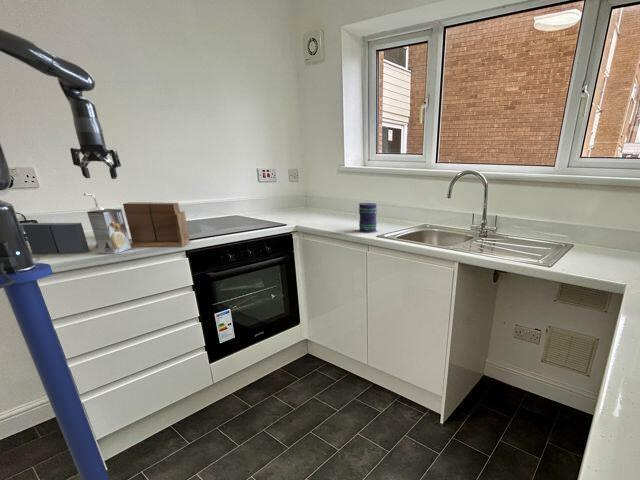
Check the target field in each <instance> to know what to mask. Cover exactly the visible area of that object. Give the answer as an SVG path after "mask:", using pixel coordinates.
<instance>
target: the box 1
mask: <svg viewBox="0 0 640 480" xmlns="http://www.w3.org/2000/svg"><path fill="white" fill-rule="evenodd" d="M151 203H155V202H151V201H149V202H145V201H143V202H141V201H139V202H138V201H136V202H135V201H133V202H132V201H129V202H125V203H122V207H123V211H124V214H125V218H126V222H127V226H128V230H129V234H130V239H132V242H157V237H156V232H155V228H154V223H153V219H152V214H151V210H150V205H149V204H151Z"/></svg>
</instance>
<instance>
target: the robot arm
mask: <svg viewBox="0 0 640 480" xmlns="http://www.w3.org/2000/svg"><path fill="white" fill-rule="evenodd" d="M0 52H1V53H2V54H4V55H6V56H9V57H11V58H12V59H15V60H17V61H19V62H20V63H22V64H25V65H26V66H28V67H30V68H32V69H34V70H36V71H38V72H39V73H41V74H43V75H46V76H48V77H52V78H56V79H57V82H58V85H59V87H60V89H61V91H62V93H63V95H64V97H65V99H66V100H67V102H68V104H69V108H70V111H71V114H72V121H73V126H74V130H75V134H76V137H77V141H78V145H79V148H76V147H70V148H69V150H70V156H71V160H72V164H73V166H77V167H79V168H80V170H81V174H82V176H83V177H84V178H85V179H91V173H90V170H89V167H88V166H89V164H90V163H91V162H103V163H104V164H105V165H106V166H107V167H108V170H109V174H110V178H111V180H116V179H117V178H118V173H117V168H120V167H121V166H122V164H121V160H120V157H119V153H118V151H117V150H116V149H107V147H106V146H107V145H106V141H105V138H104V134H103V133H104V132H103V129H102V125H101V123H100V119H99V116H98V111H97V108H96V105H95V103H94V102H93V101H92V100H90V99H87V98H86V97H85V94H84V92H92V91H93V90H94V89H95V87H96V81H95V79H94V77H93V76H92V74H91V73H90V72H89V71H87V70H86V69H85V68H83V67H82V66H80V65H78V64H76V63H73V62H71V61H69V60H66V59H64V58H62V57H59V56H56V55H54V54H53V53H51V52H49V51H48V50H46V49H45V48H43V47H41V46H40V45H38V44H36V43H34V42H33V41H31V40H28V39H27V38H24V37H22V36H20V35H18V34H14V33H12V32H10V31H7V30H4V29H2V28H0ZM3 149H4V148H3V145H2V143H1V141H0V192H1V191H5V190H8V189H9V188H10V186H11V184H12V174H11V170H10V167H9V164H8V161H7V158H6V155H5V152H4V150H3ZM80 155H83V157H82V158H80ZM108 155H109V156H111V159H110V158H109V157H108ZM27 242H28V241H27V239H26V237H25V235H24V230H23V228H22V226H21V224H20V220H19V217H18V214H17V212H16V209H15V206H14V205H13V204H12V203H11V202H8V201H5V200H2V199H0V274H1V275H2V276H3V277H4V278H5V279H6V280H7V281H9V282H7V283H5V284H1V285H0V289H4V288H3V287H7V286H9V285H11V284H13V283H14V282H15V280H13V279H10V278H9V277H8V276H7V275H6V274H16V273H19V272H25V271H29V270H32V269H34V268H36V266H35V264H34V263H35V261H34V260H33V259H34V258H33V256H32V252H31V251H30V248H29V246H28V243H27Z"/></svg>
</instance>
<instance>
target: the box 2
mask: <svg viewBox="0 0 640 480" xmlns="http://www.w3.org/2000/svg"><path fill="white" fill-rule="evenodd" d="M149 205H150V210H151V214H152V219H153V223H154V228H155V232H156V237H157V241H158V242H179V239H178V234H177V229H176V224H175V219H174V214H176V213H179V212H181V210H180V204H179V202H161V201H160V202H157V201H156V202H154V203H151V204H149Z"/></svg>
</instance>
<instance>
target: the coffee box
mask: <svg viewBox="0 0 640 480" xmlns="http://www.w3.org/2000/svg"><path fill="white" fill-rule="evenodd" d="M86 213H87V217H88V216H89V217H88V220H89V223H90V226H91V230H92V233H93V236H94V239H95V242H96V243H95V244H97V246H98V248H97V249H98V250H97V251H98V253H99V254H110V255H111V254H113V255H116V254H119V253H121V252H125V251H129V250H131V249H132V247H131V245H130V241H129V239H130V237H129V234H128V230H127V226H126V222H125V219H124V215H123V211H122V209H121V208H104V209H102V210H96V211H90V210H89V211H87V212H86Z"/></svg>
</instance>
